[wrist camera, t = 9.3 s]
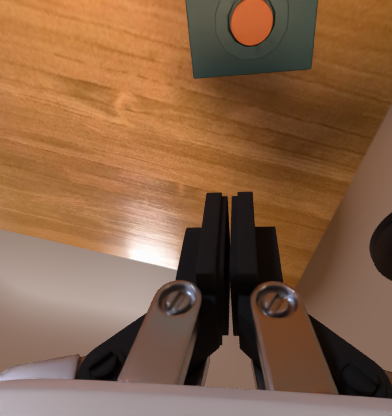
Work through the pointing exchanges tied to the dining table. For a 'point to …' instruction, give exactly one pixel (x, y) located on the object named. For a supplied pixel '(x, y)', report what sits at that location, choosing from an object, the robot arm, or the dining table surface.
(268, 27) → the orange round cap
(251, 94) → the dining table surface
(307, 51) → the teal box orange button
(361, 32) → the dining table surface
